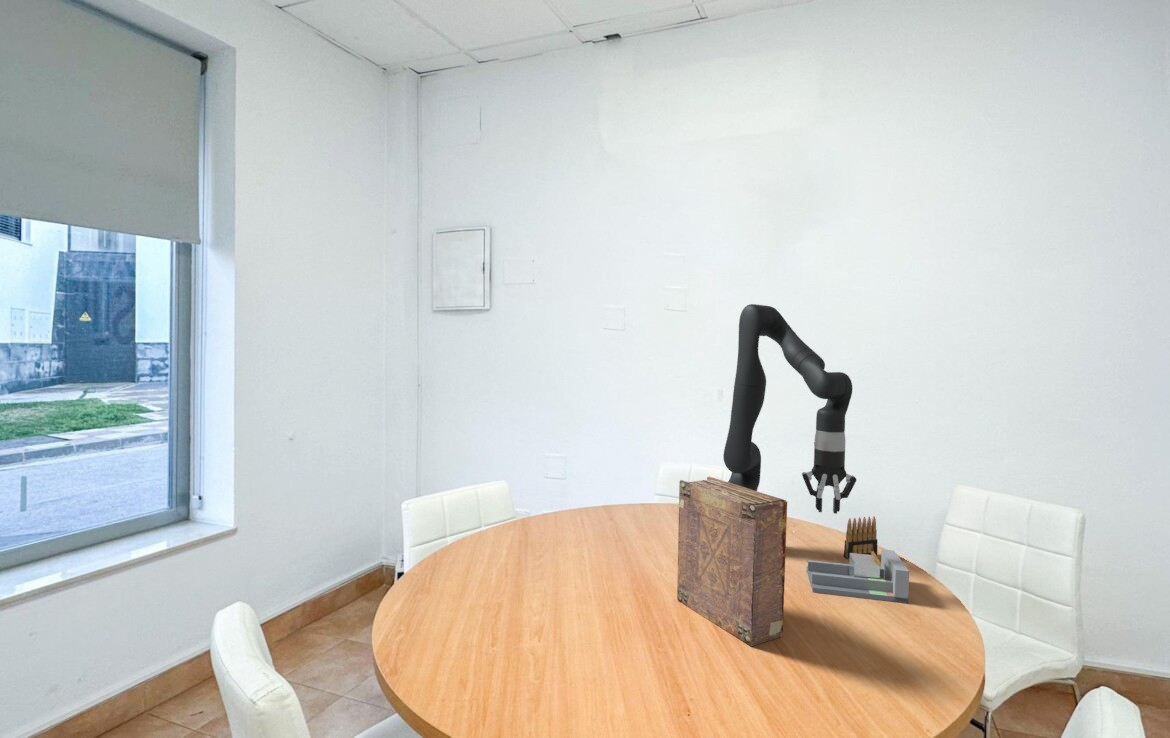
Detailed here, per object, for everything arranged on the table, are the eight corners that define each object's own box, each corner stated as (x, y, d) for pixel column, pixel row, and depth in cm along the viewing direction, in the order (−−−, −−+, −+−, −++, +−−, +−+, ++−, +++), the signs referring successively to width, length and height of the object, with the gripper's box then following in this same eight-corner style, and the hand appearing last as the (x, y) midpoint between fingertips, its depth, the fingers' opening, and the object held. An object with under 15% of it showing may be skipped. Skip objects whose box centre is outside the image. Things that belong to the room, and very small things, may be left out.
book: (676, 600, 143) (678, 479, 142) (705, 592, 148) (708, 475, 146) (751, 647, 121) (755, 505, 120) (783, 637, 126) (787, 500, 124)
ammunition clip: (873, 553, 177) (874, 515, 177) (877, 556, 175) (879, 516, 175) (843, 557, 174) (844, 517, 174) (847, 559, 172) (849, 519, 172)
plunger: (854, 586, 149) (855, 560, 149) (848, 573, 157) (849, 549, 157) (879, 589, 148) (880, 562, 147) (872, 576, 156) (873, 551, 155)
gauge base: (812, 592, 149) (813, 561, 148) (806, 570, 163) (807, 542, 163) (908, 603, 143) (909, 571, 143) (892, 579, 158) (893, 550, 157)
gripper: (802, 448, 152) (800, 513, 152) (861, 451, 148) (859, 518, 149) (799, 443, 159) (798, 506, 160) (855, 446, 155) (853, 510, 156)
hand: (827, 511), depth 154 cm, fingers open, 3 cm apart
